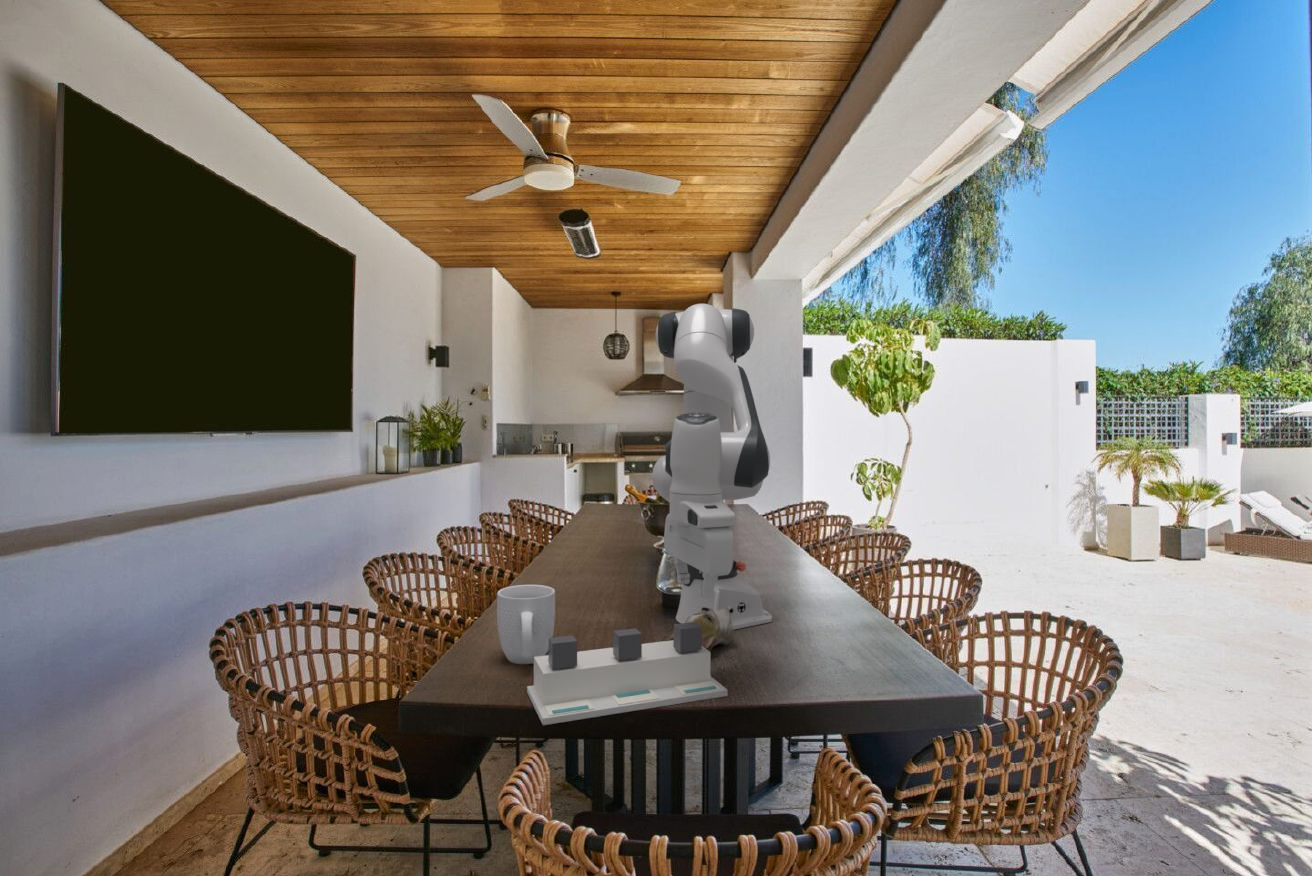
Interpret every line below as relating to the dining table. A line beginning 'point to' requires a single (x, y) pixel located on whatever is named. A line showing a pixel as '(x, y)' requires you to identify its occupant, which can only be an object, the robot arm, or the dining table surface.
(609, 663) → the switch unit
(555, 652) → the slider
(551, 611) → the mug
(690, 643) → the slider
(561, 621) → the dining table surface
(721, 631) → the ceramic sculpture
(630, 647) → the slider middle
